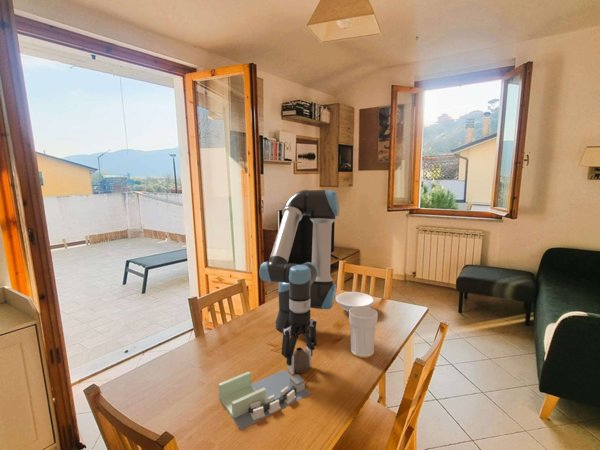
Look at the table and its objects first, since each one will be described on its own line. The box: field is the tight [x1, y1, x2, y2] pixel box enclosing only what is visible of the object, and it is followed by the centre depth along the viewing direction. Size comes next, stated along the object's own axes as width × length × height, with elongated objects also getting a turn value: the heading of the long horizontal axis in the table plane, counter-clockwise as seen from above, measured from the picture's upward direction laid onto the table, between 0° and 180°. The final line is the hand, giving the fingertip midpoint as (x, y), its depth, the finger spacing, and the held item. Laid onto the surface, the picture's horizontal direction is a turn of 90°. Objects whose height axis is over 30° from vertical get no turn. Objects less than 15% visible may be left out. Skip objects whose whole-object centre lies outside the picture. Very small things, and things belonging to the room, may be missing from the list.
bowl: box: [335, 291, 374, 313], centre depth 168 cm, size 20×20×7 cm
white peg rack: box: [250, 373, 306, 420], centre depth 100 cm, size 7×20×3 cm, turn 126°
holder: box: [218, 371, 266, 421], centre depth 100 cm, size 11×11×5 cm
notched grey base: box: [249, 386, 296, 413], centre depth 100 cm, size 4×19×1 cm, turn 126°
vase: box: [292, 346, 310, 374], centre depth 117 cm, size 7×7×9 cm
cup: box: [348, 306, 379, 360], centre depth 128 cm, size 11×11×17 cm
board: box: [218, 369, 312, 431], centre depth 103 cm, size 16×25×1 cm, turn 126°
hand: (299, 368), depth 117 cm, fingers open, 7 cm apart
